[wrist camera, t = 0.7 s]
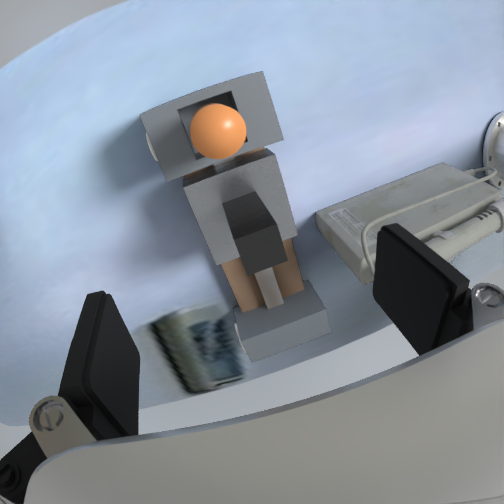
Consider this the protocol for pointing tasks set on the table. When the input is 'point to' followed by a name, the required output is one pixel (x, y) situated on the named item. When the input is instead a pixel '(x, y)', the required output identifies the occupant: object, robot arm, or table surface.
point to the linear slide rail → (189, 160)
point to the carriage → (243, 210)
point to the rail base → (262, 274)
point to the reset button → (217, 131)
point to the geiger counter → (415, 215)
